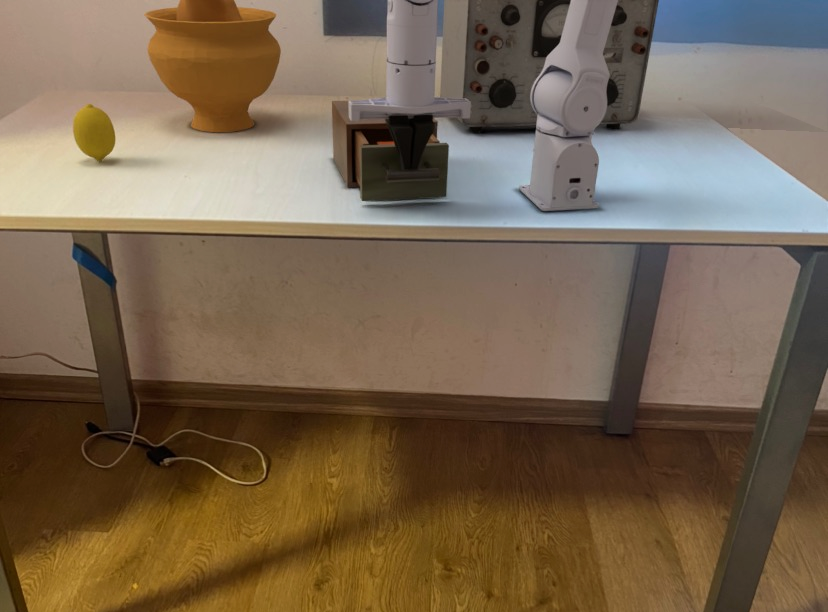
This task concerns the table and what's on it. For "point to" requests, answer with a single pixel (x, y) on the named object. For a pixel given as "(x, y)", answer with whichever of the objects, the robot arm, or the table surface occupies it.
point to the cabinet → (350, 138)
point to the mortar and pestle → (214, 59)
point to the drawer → (396, 168)
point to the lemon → (94, 132)
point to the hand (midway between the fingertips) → (408, 178)
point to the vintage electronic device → (534, 57)
